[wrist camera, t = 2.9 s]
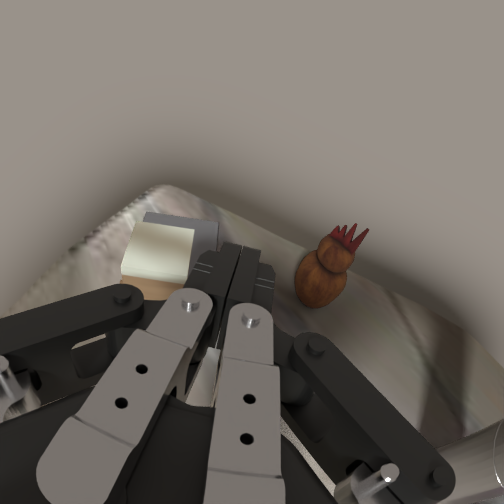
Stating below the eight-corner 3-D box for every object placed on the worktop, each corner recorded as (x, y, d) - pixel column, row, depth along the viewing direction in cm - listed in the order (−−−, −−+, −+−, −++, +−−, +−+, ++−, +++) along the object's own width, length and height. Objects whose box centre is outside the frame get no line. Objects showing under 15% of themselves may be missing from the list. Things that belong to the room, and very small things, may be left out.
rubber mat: (212, 299, 41) (212, 298, 41) (122, 286, 39) (122, 284, 38) (218, 223, 51) (218, 222, 51) (146, 212, 49) (146, 211, 49)
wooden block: (178, 363, 34) (187, 276, 22) (135, 356, 33) (120, 265, 21) (181, 326, 37) (194, 229, 26) (142, 319, 36) (136, 220, 25)
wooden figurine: (336, 309, 44) (388, 237, 34) (304, 320, 42) (354, 243, 32) (313, 275, 48) (356, 199, 38) (282, 282, 46) (321, 201, 35)
